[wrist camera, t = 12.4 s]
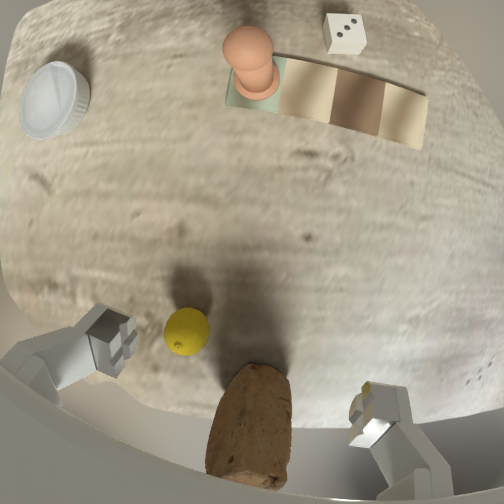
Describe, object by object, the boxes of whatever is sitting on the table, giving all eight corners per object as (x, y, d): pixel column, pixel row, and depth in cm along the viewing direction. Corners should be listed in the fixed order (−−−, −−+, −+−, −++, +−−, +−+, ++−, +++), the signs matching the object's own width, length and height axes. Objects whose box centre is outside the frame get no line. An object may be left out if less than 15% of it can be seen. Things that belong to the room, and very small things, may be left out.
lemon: (216, 334, 42) (203, 368, 34) (178, 332, 42) (160, 364, 35) (212, 298, 40) (197, 328, 33) (173, 297, 41) (151, 325, 33)
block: (255, 350, 42) (237, 466, 23) (296, 376, 43) (299, 490, 24) (214, 392, 45) (183, 496, 26) (252, 414, 46) (238, 517, 26)
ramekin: (111, 87, 34) (90, 79, 29) (70, 154, 37) (47, 155, 32) (67, 57, 33) (46, 49, 27) (31, 119, 36) (9, 117, 30)
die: (353, 27, 29) (360, 14, 25) (359, 54, 30) (367, 43, 26) (322, 26, 30) (326, 13, 26) (327, 53, 31) (332, 41, 27)
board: (426, 98, 31) (428, 97, 30) (419, 149, 33) (421, 149, 32) (237, 53, 31) (236, 51, 31) (226, 105, 33) (225, 104, 33)
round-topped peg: (283, 63, 31) (284, 17, 19) (275, 104, 32) (273, 72, 20) (239, 57, 31) (219, 10, 19) (230, 97, 32) (205, 64, 20)
